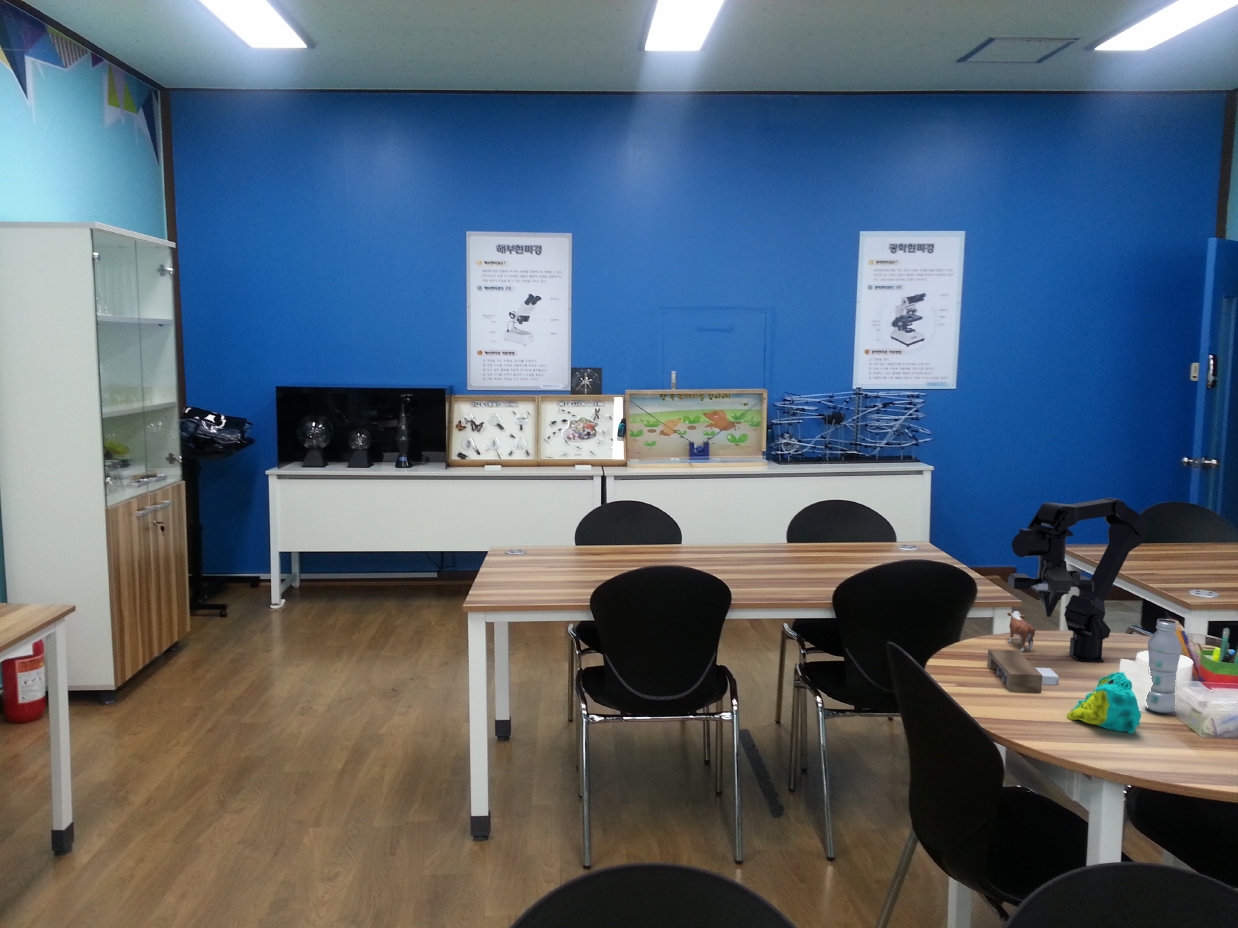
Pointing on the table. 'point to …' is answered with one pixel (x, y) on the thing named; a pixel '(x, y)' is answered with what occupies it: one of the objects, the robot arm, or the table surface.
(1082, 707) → the turquoise and yellow lump
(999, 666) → the low shelf
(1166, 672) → the plastic bottle
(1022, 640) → the bull figurine
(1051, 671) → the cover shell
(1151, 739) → the table surface
